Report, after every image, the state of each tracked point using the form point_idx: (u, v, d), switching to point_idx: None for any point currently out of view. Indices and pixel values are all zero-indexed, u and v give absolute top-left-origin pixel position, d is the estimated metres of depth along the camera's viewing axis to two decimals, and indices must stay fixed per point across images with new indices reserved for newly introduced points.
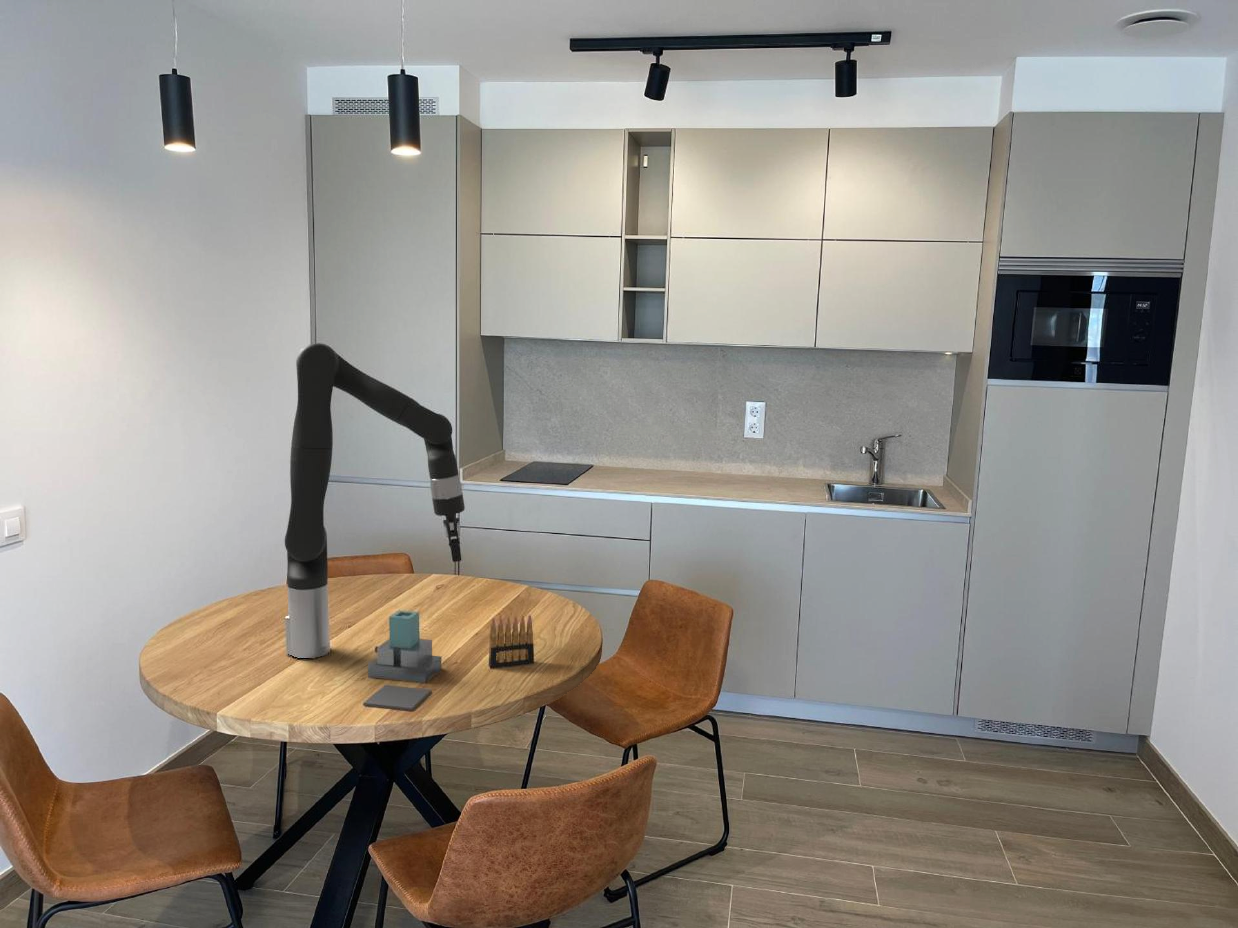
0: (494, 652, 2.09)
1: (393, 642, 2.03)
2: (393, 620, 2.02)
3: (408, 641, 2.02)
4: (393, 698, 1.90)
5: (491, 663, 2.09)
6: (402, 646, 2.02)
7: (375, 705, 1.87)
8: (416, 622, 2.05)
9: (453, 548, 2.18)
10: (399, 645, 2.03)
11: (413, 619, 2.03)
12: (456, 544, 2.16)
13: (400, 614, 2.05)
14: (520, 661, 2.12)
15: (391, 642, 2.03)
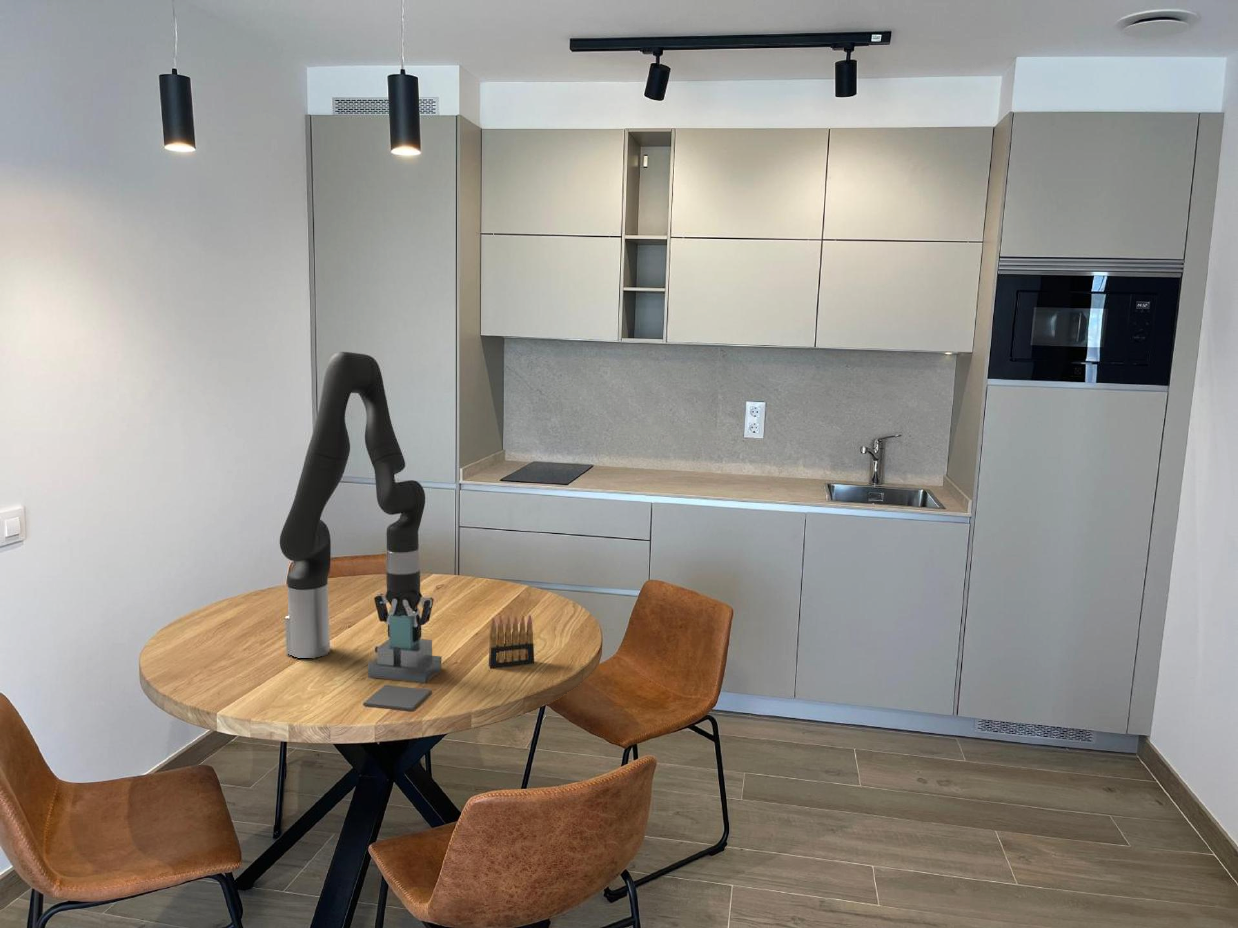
0: (494, 652, 2.09)
1: (393, 642, 2.03)
2: (393, 620, 2.02)
3: (408, 641, 2.02)
4: (393, 698, 1.90)
5: (491, 663, 2.09)
6: (402, 646, 2.02)
7: (375, 705, 1.87)
8: None
9: None
10: (399, 645, 2.03)
11: None
12: None
13: (400, 614, 2.05)
14: (520, 661, 2.12)
15: (391, 642, 2.03)
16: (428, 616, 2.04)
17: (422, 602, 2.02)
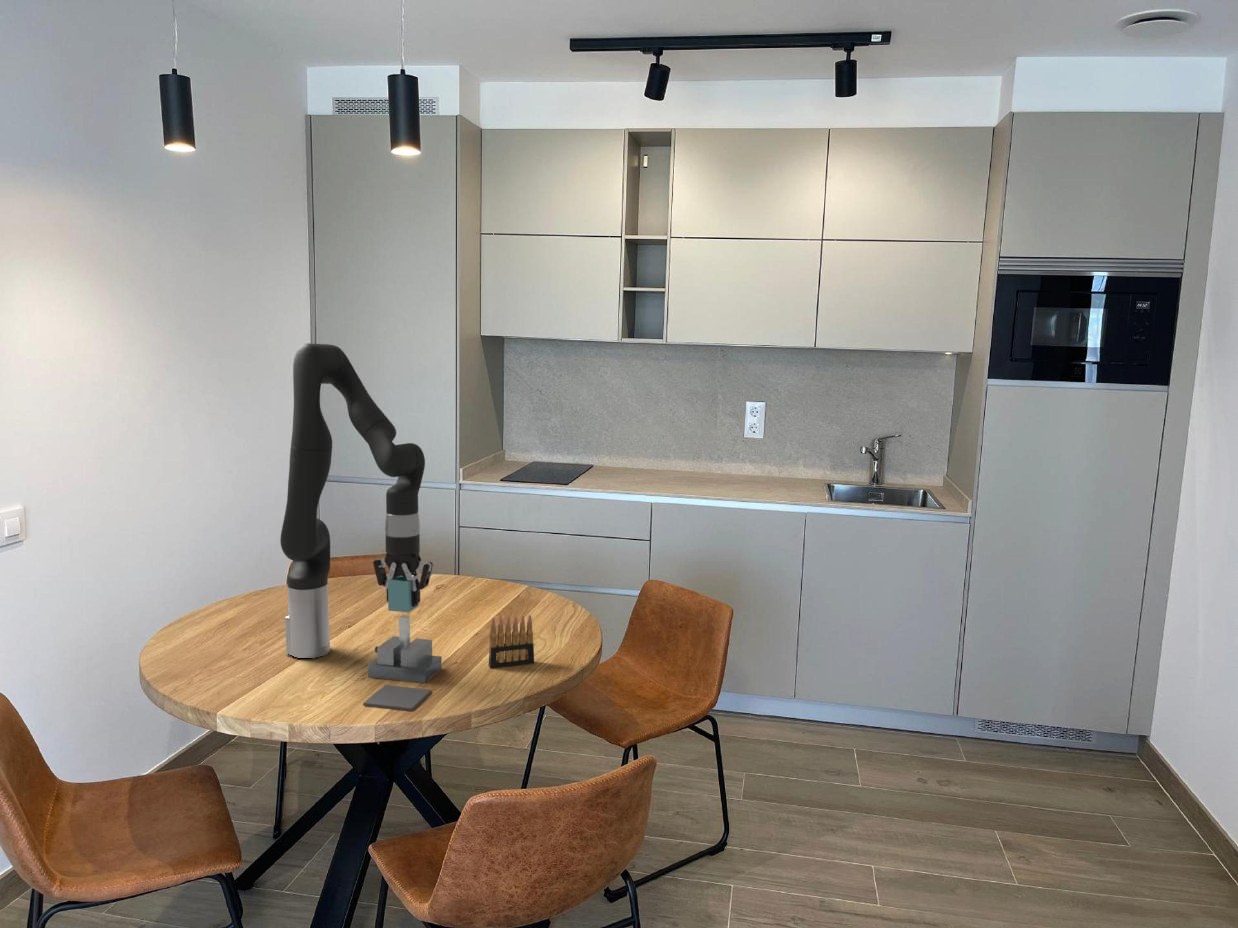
0: (494, 652, 2.09)
1: (392, 606, 2.01)
2: (392, 584, 2.01)
3: (407, 605, 2.01)
4: (393, 698, 1.90)
5: (491, 663, 2.09)
6: (401, 610, 2.01)
7: (375, 705, 1.87)
8: None
9: None
10: (398, 609, 2.01)
11: None
12: None
13: (399, 578, 2.04)
14: (520, 661, 2.12)
15: (390, 606, 2.02)
16: (427, 580, 2.02)
17: (421, 566, 2.01)
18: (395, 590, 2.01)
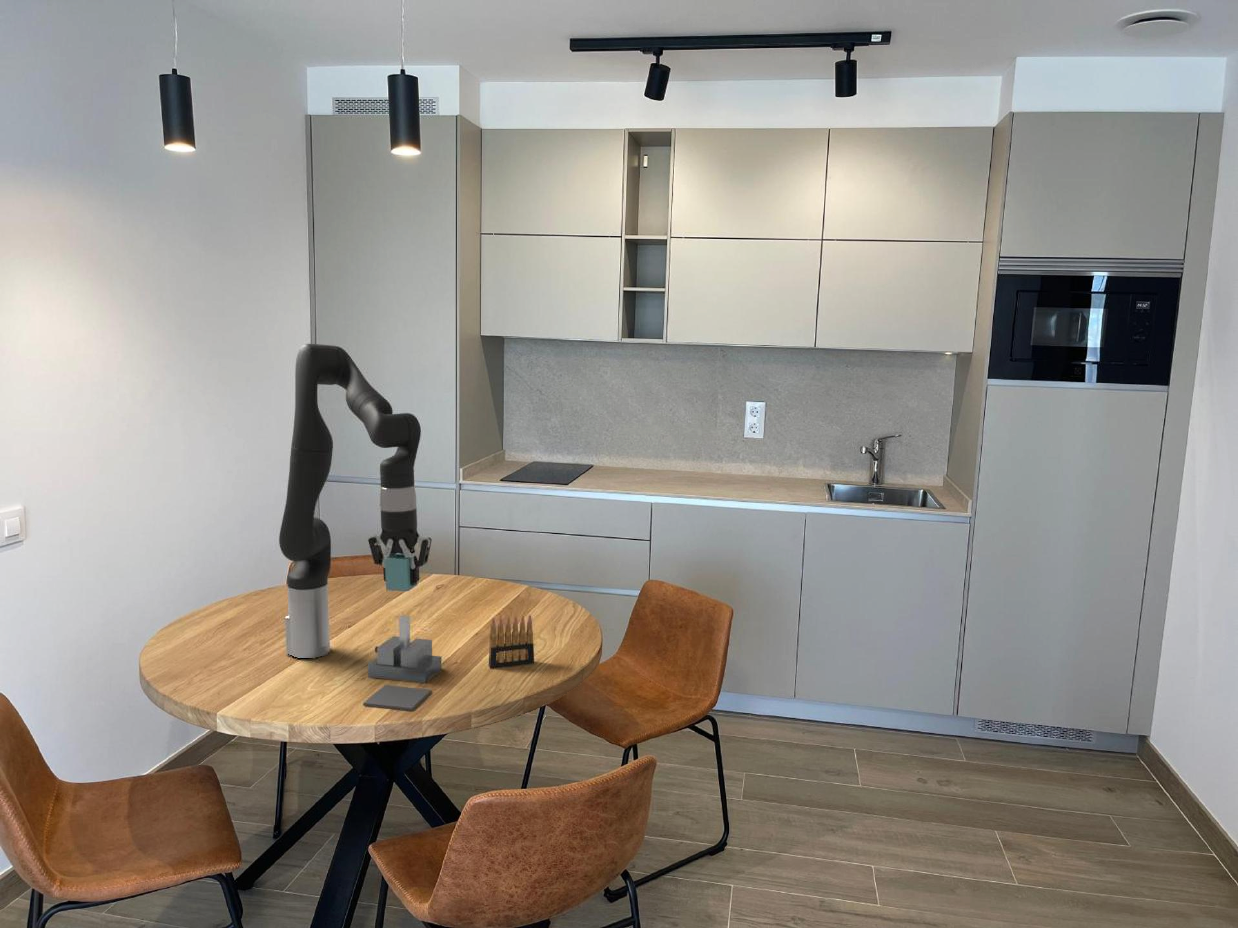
0: (494, 652, 2.09)
1: (390, 585, 1.91)
2: (389, 562, 1.90)
3: (406, 584, 1.90)
4: (393, 698, 1.90)
5: (491, 663, 2.09)
6: (399, 589, 1.91)
7: (375, 705, 1.87)
8: None
9: None
10: (396, 588, 1.91)
11: None
12: None
13: (396, 556, 1.94)
14: (520, 661, 2.12)
15: (387, 585, 1.91)
16: (426, 557, 1.92)
17: (419, 542, 1.90)
18: (393, 568, 1.90)
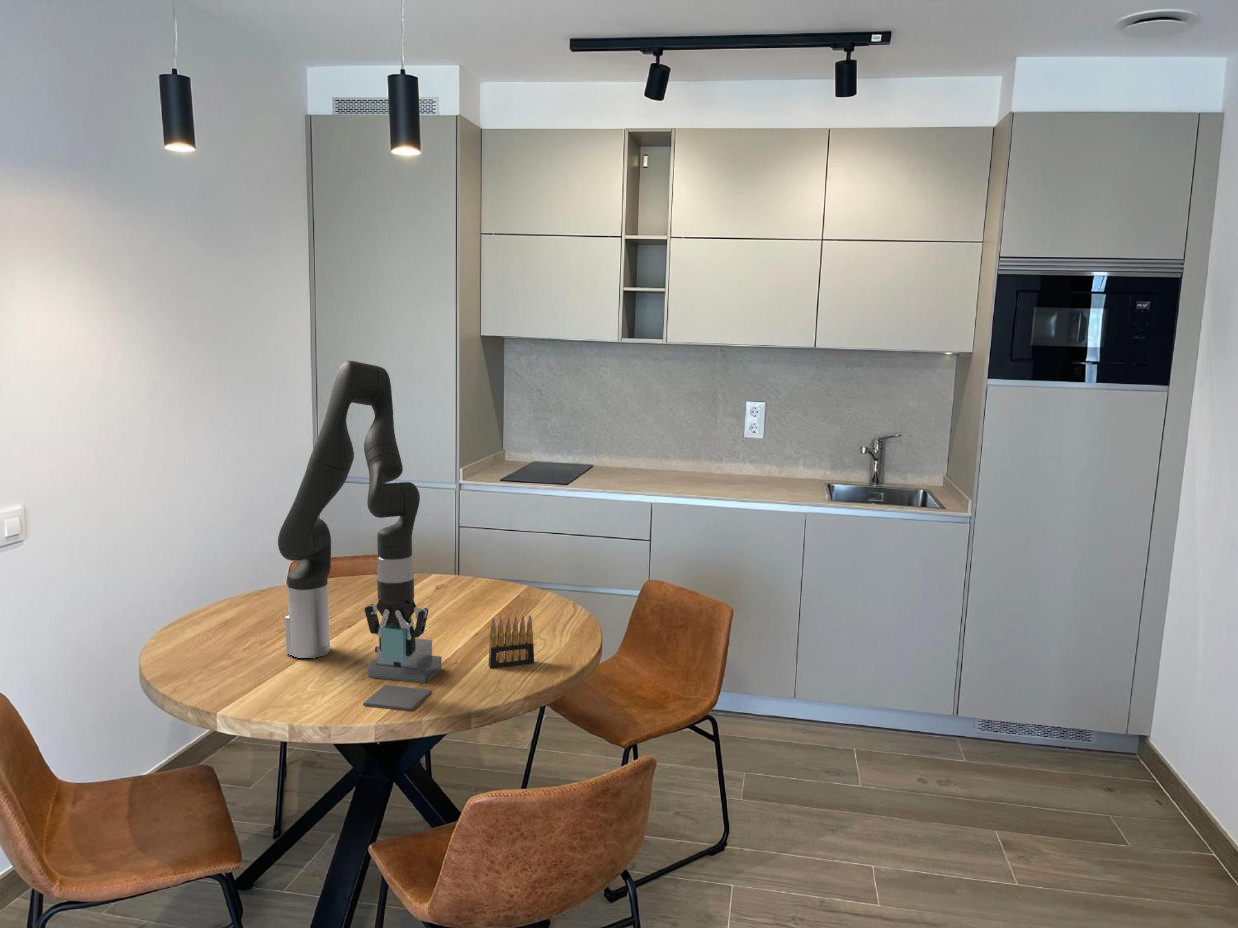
0: (494, 652, 2.09)
1: (385, 656, 1.88)
2: (385, 632, 1.87)
3: (401, 655, 1.87)
4: (393, 698, 1.90)
5: (491, 663, 2.09)
6: (395, 660, 1.88)
7: (375, 705, 1.87)
8: None
9: None
10: (391, 659, 1.88)
11: None
12: None
13: (393, 625, 1.91)
14: (520, 661, 2.12)
15: (383, 656, 1.88)
16: (423, 628, 1.89)
17: (416, 613, 1.87)
18: (388, 639, 1.87)
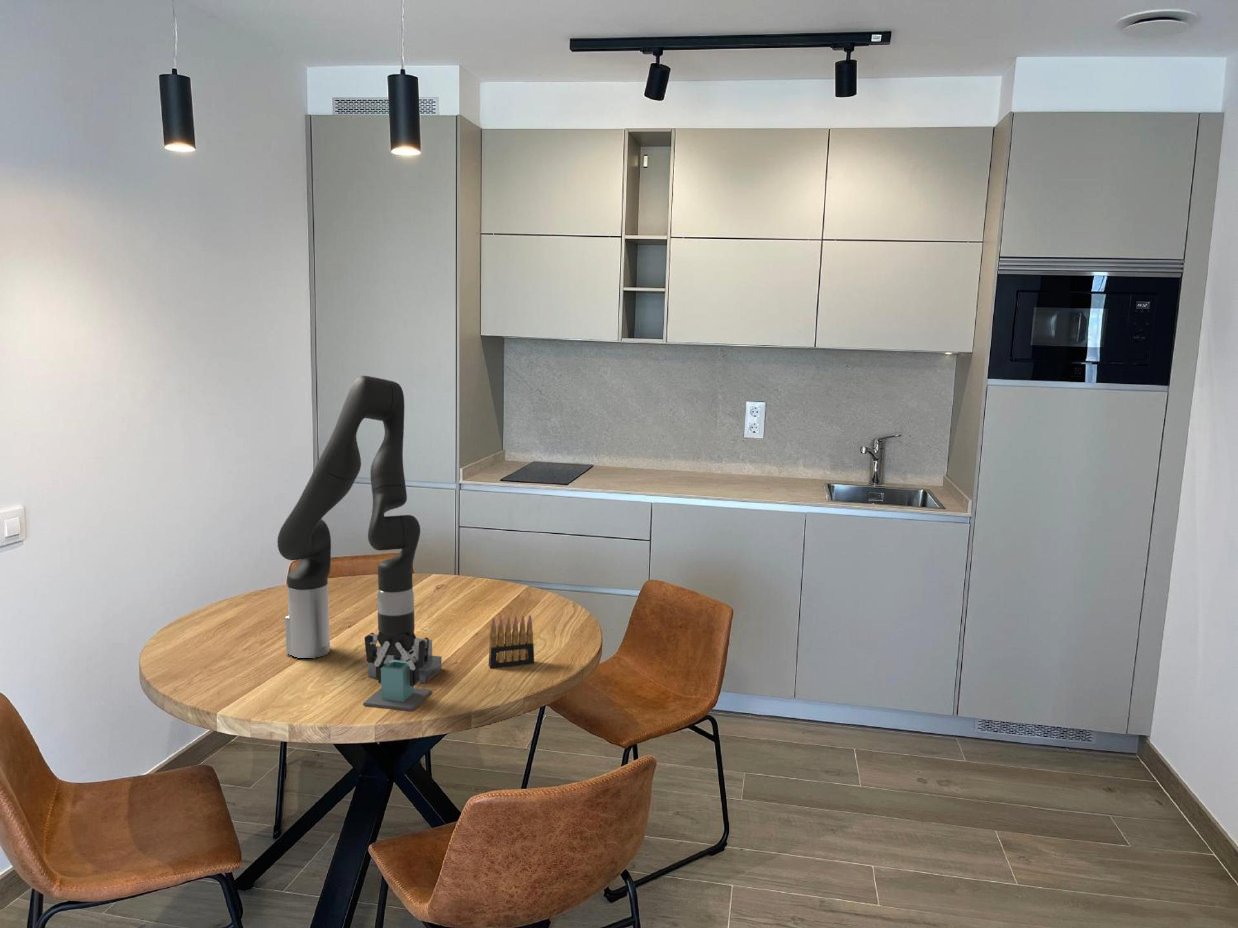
0: (494, 652, 2.09)
1: (385, 695, 1.89)
2: (385, 671, 1.88)
3: (401, 694, 1.88)
4: None
5: (491, 663, 2.09)
6: (395, 699, 1.89)
7: (375, 705, 1.87)
8: None
9: None
10: (391, 698, 1.89)
11: (406, 670, 1.89)
12: None
13: (393, 664, 1.92)
14: (520, 661, 2.12)
15: (383, 695, 1.89)
16: (426, 657, 1.89)
17: (417, 643, 1.88)
18: (388, 678, 1.88)
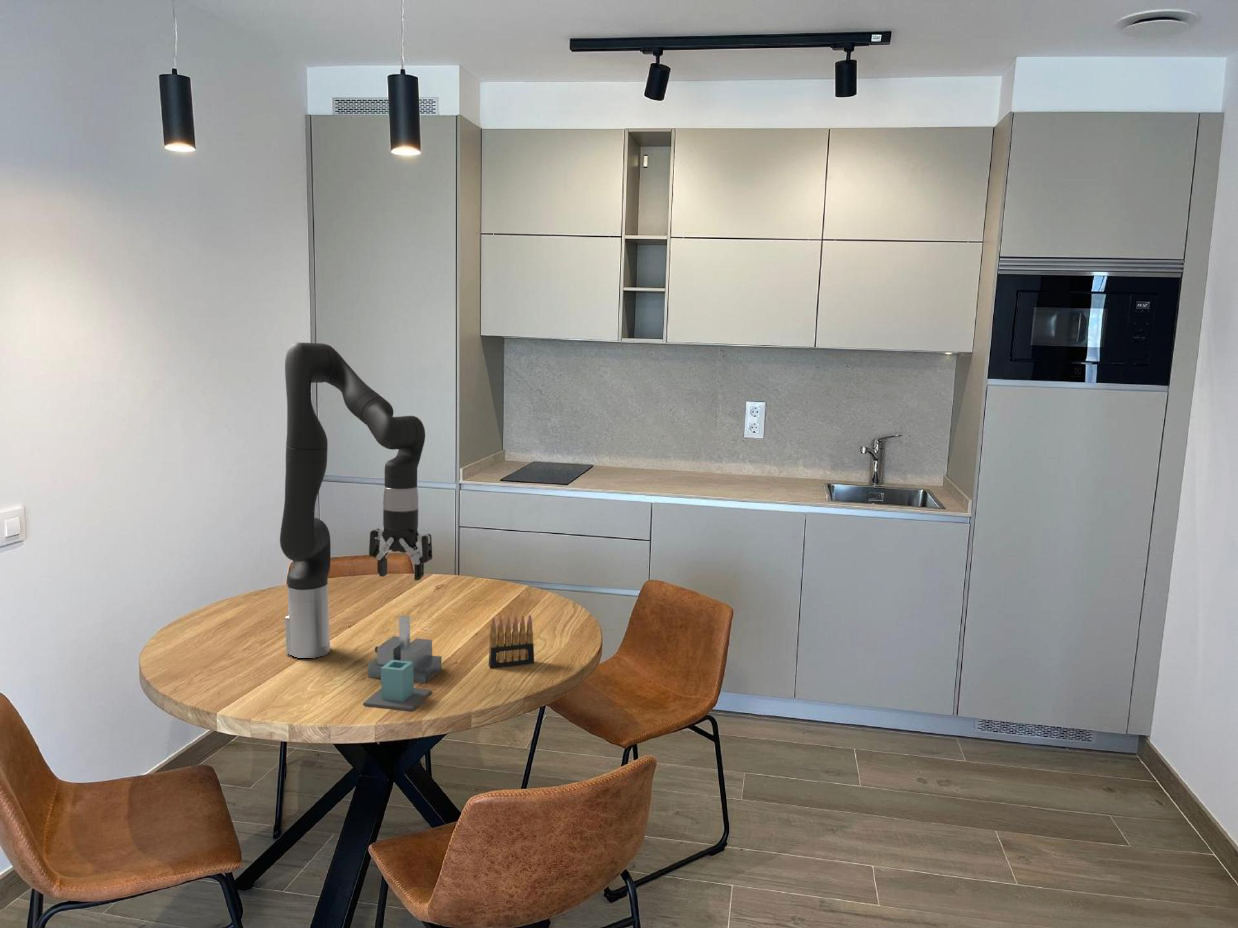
0: (494, 652, 2.09)
1: (385, 695, 1.89)
2: (385, 671, 1.88)
3: (401, 694, 1.88)
4: None
5: (491, 663, 2.09)
6: (395, 699, 1.89)
7: (375, 705, 1.87)
8: (410, 673, 1.91)
9: None
10: (391, 698, 1.89)
11: (406, 670, 1.89)
12: None
13: (393, 664, 1.92)
14: (520, 661, 2.12)
15: (383, 695, 1.89)
16: (430, 553, 1.97)
17: (420, 539, 1.96)
18: (388, 678, 1.88)
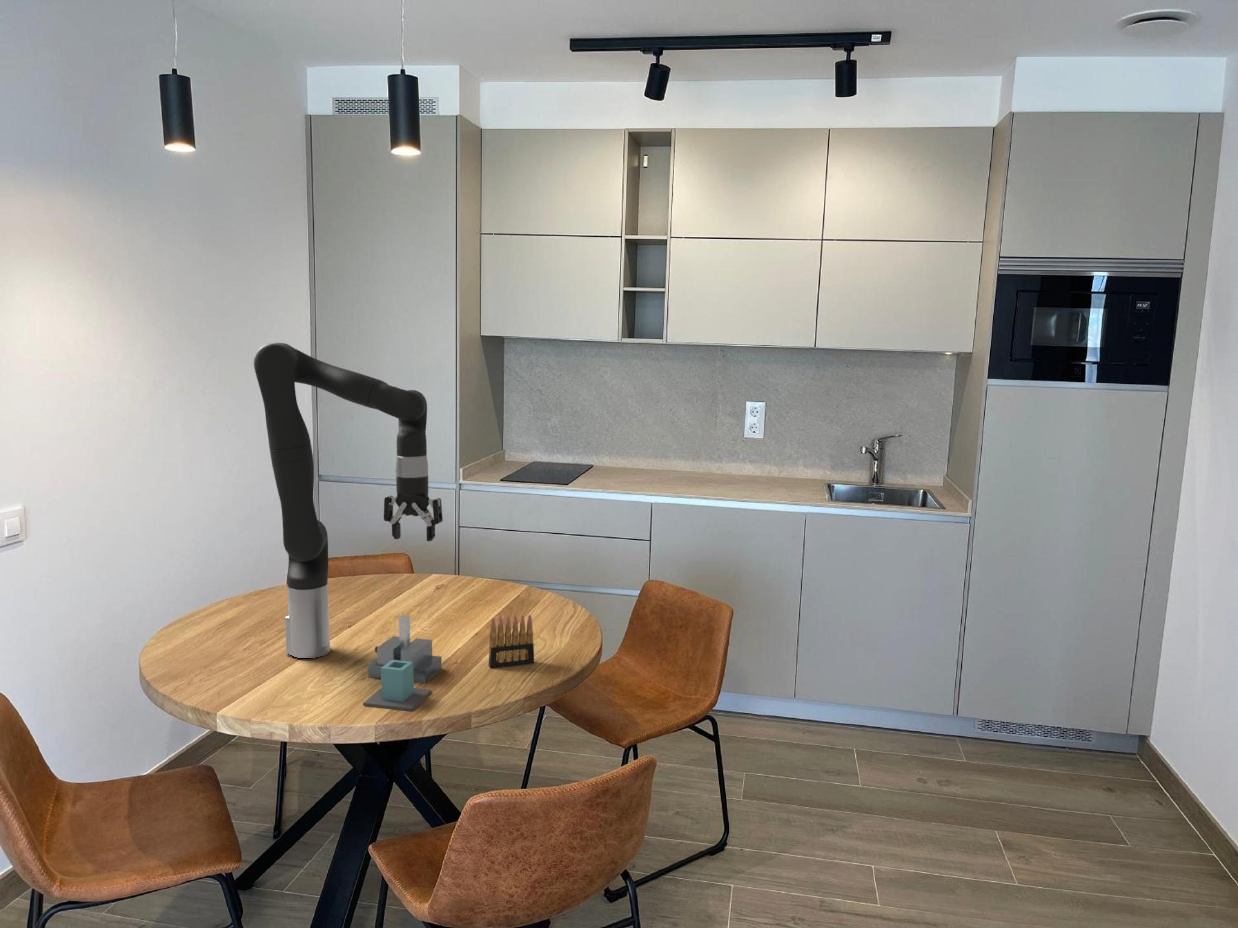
0: (494, 652, 2.09)
1: (385, 695, 1.89)
2: (385, 671, 1.88)
3: (401, 694, 1.88)
4: None
5: (491, 663, 2.09)
6: (395, 699, 1.89)
7: (375, 705, 1.87)
8: (410, 673, 1.91)
9: None
10: (391, 698, 1.89)
11: (406, 670, 1.89)
12: None
13: (393, 664, 1.92)
14: (520, 661, 2.12)
15: (383, 695, 1.89)
16: (440, 516, 2.15)
17: (431, 503, 2.13)
18: (388, 678, 1.88)
